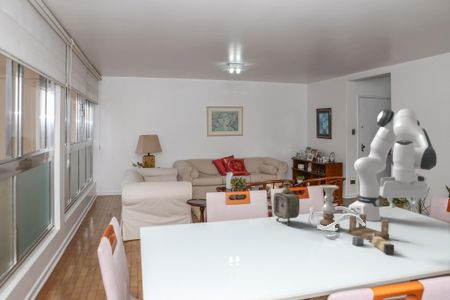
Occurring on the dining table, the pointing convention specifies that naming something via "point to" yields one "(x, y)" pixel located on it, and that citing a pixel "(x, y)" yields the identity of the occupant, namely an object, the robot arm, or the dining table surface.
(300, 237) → the dining table surface
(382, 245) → the hinged leg
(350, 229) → the stool seat
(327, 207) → the candle holder
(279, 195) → the tabletop clock
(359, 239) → the block
